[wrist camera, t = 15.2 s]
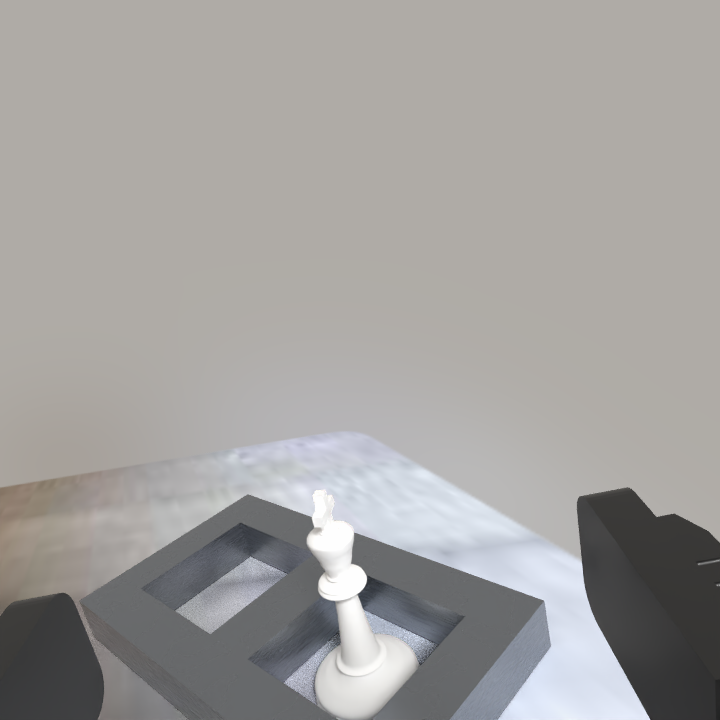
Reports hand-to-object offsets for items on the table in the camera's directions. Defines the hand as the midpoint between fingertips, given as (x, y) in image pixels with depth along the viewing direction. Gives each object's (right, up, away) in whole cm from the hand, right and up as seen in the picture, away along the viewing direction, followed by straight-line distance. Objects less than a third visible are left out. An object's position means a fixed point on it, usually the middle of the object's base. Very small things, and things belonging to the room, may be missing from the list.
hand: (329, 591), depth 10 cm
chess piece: (+1, -11, +19) cm, 22 cm away
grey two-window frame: (-3, -11, +23) cm, 25 cm away
